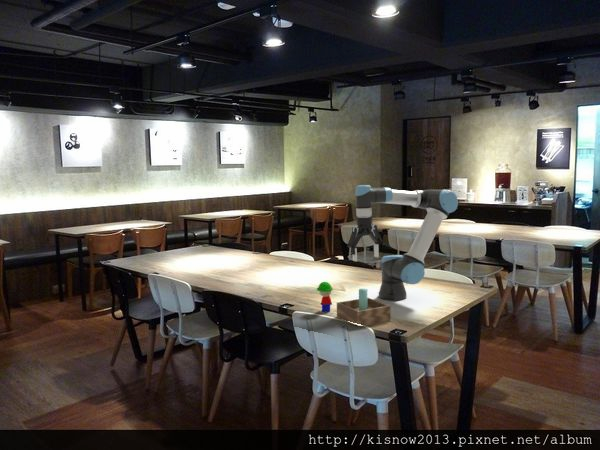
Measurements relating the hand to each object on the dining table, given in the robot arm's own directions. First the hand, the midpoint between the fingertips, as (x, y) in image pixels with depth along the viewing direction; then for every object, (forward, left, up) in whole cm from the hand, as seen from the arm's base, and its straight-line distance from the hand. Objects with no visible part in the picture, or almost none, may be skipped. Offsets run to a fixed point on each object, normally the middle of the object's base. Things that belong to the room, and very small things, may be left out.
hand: (365, 259), depth 246 cm
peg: (+11, +13, -26) cm, 31 cm away
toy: (+20, -7, -26) cm, 33 cm away
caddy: (+11, +13, -26) cm, 31 cm away
